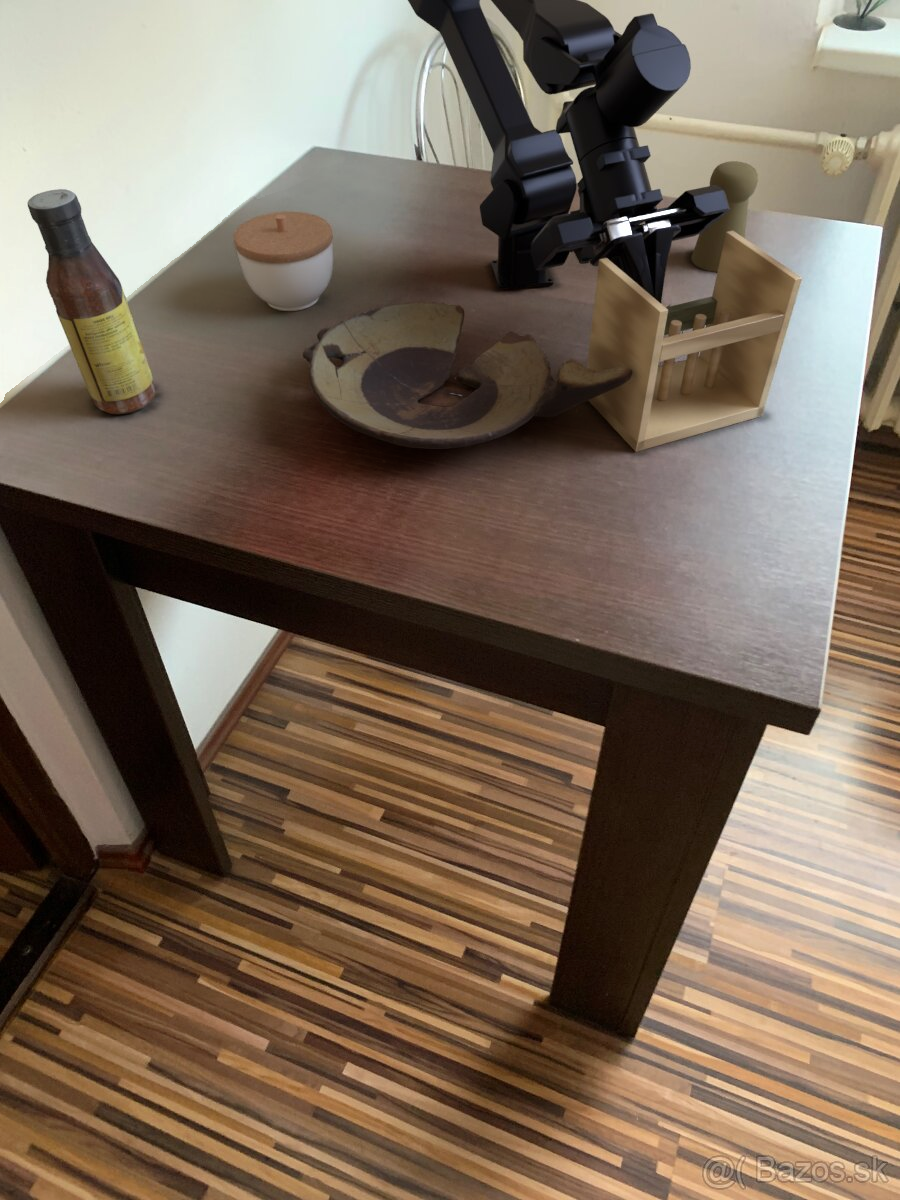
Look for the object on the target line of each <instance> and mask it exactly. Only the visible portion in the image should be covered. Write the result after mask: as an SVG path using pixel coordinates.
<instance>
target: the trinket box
mask: <svg viewBox="0 0 900 1200" xmlns="http://www.w3.org/2000/svg"><path fill="white" fill-rule="evenodd" d="M333 238H334V235H333V228H332V225H331V224H330V223H329V222H328V221H327V220H326V219H325V218H323V217H321V216H319V215H317V214H313V213H310V212H304V211H303V212H302V211H276V212H271V213H266V214H261V215H258V216H255V217H253V218H250V219H248V220H246V221H244V222H243V223H241V224H240V225H239V226H238V227H237V228H236V230H235V231H234V234H233V244H234V248H235V251H236V254H237V258H238V262H239V265H240V268H241V271H242V275H243V276H244V279H245V281H246V283H247V285H248V286H249V288H250V289H251V291H253V293H254V294H255V295H256V296H257V297H258V298H260V299H261V300H262V301H264V302H266V304H267V305H268V306H269V307H270V308H271V309H274V310H277V311H283V312H295V311H301V310H305V309H308V308H311V307H312V306H314V305H315V304H317V302H318V301H319V299H320V297H321V296H322V295H323V293H324V292H325V291H326V289H327V288H328V286H329V284H330V281H331V279H332V275H333V271H334V243H333Z"/></svg>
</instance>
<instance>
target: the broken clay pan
mask: <svg viewBox="0 0 900 1200" xmlns="http://www.w3.org/2000/svg"><path fill="white" fill-rule="evenodd" d="M464 319H465V309H464V308H463V307H462V306H461V305H455V304H454V305H453V304H447V303H443V302H441V303H440V302H434V301H433V302H414V301H413V302H412V301H409V302H399V303H393V304H388V305H384V306H381V307H377V308H374V309H373V310H372V309H371V310H369V311H366V312H361V313H360V314H359V315H353V316H352V317H349V318H348V319H346V320H343V321H340V322H339V323H338V324H336V325H333V326H330V327H325V328H322V329H320V330H319V331H318V332H317V334H316V338H317V340H318V341H317V342H316V343H314V344H313V345H312V346H310V347H307V348H305V349H304V350H303V351H302V357H303V359H305V361H306V362H307V363H309V367H308V378H309V381H310V386H311V389H312V391H313V394H314V395H315V397H316V399H317V400H318V402H319V403H320V404H321V406H323V408H324V409H325V410H326V411H327V412H328V413H329V414H330V415H332V416H333V418H335V419H337V421H340V422H341V423H342V424H344V425H346V426H347V427H349V428H350V429H352V430H354V431H357V432H358V433H361V434H364V435H367V436H369V437H372V438H375V439H377V440H379V441H380V440H381V441H383V442H387V443H390V444H393V445H397V446H402V447H406V448H414V449H426V450H427V449H428V450H443V449H444V450H445V449H456V448H464V447H470V446H474V445H480V444H483V443H486V442H487V443H488V442H490V441H494V440H495V439H496V440H497V439H499V438H501V437H504V436H506V435H508V434H510V433H513V432H514V431H515V430H517V429H518V428H520V427H521V426H524V425H525V424H526V423H527V422H529V421H530V420H531V419H532V418H533V417H541V418H551V417H555V416H557V415H560V414H562V413H564V412H567V411H568V410H571V409H572V408H574V407H576V406H579V405H581V404H583V403H585V402H589V401H588V400H590V399H592V398H595V397H597V396H599V395H601V394H603V393H606V392H608V391H610V390H613V389H615V388H617V387H619V386H621V385H623V384H624V383H626V382H627V381H628V380H630V378H631V376H632V370H631V369H629V368H626V367H618V368H614V369H608V370H592V369H589V368H587V366H585V365H584V364H582V363H580V362H579V361H577V360H575V359H573V358H572V359H571V358H570V359H566V360H565V361H563V362H562V364H561V366H560V369H559V370H558V372H557V373H558V374H557V376H556V377H557V378H556V379H554V377H553V376H552V373H551V366H550V361H549V360H548V356H547V354H546V353H545V350H544V349H543V348H542V346H541V345H540V344H539V342H538V341H537V340H536V339H535V338H534V337H533V336H531V335H530V334H529V333H526V334H524V335H521V334H519V333H517V332H514V331H510V332H508V333H506V334H505V335H503V337H502V338H501V339H498V340H497V341H496V342H495V344H494V345H493V346H492V347H491V348H489V349H486V350H485V351H484V352H483V353H481V355H479V357H476V359H474V360H473V361H471V362H470V363H469V364H468V365H466V366H465V367H463V368H462V369H461V370H460V371H458V373H457V374H456V376H455V380H457V381H458V382H459V383H462V384H464V385H466V387H467V386H469V387H472V388H473V389H474V390H473V392H472V393H469V395H467V396H466V397H463V394H456V393H453V392H452V393H451V392H449V393H448V394H449V395H456V396H460V397H461V399H459V401H458V402H457V403H455V404H453V405H451V406H448V407H447V406H440V405H438V406H437V405H433V404H427V403H425V404H424V403H420V402H419V401H422V400H423V399H424V398H426V397H427V396H429V395H431V394H433V393H435V392H436V391H437V390H438V389H440V388H442V386H443V385H444V384H445V381H448V379H449V377H450V376H451V372H452V370H453V367H454V364H455V358H456V357H457V353H458V349H459V348H458V347H459V342H460V338H461V336H462V329H463V324H464ZM332 359H340V360H341V363H342V364H341V365H340V366H336V365H334V363H333V362H332V361H331V360H332ZM462 397H463V398H462Z"/></svg>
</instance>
